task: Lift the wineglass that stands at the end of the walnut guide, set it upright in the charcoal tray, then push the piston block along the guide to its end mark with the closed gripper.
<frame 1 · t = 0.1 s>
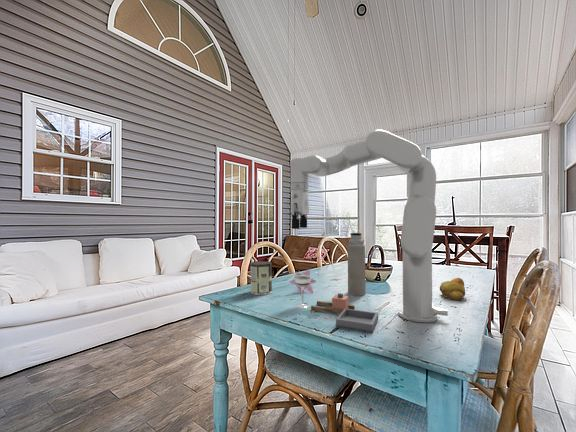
hand: (299, 228, 119), 31 cm above the table, tool pointing down, fingers open, 9 cm apart
lily: (303, 292, 135), on the table
wineglass: (302, 306, 114), on the table
tray: (357, 323, 94), on the table
bread roll: (452, 297, 123), on the table
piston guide: (332, 309, 108), on the table
piston block: (340, 302, 107), point 3 cm above the table, slide at 0.0 cm
coffee can: (261, 292, 135), on the table
thermos bottle: (356, 293, 131), on the table
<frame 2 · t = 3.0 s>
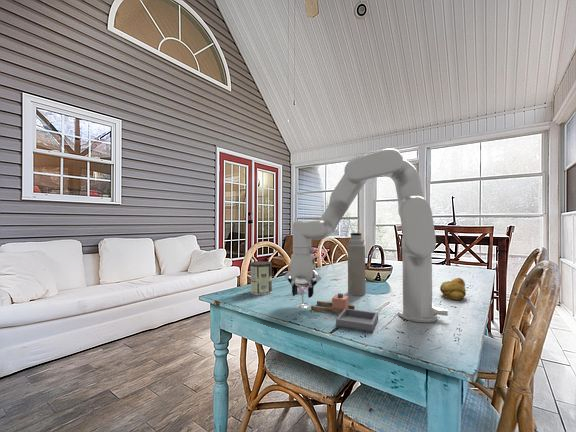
hand: (302, 295, 114), 4 cm above the table, tool pointing down, fingers closed on wineglass, 6 cm apart
wineglass: (302, 306, 114), on the table, touching gripper
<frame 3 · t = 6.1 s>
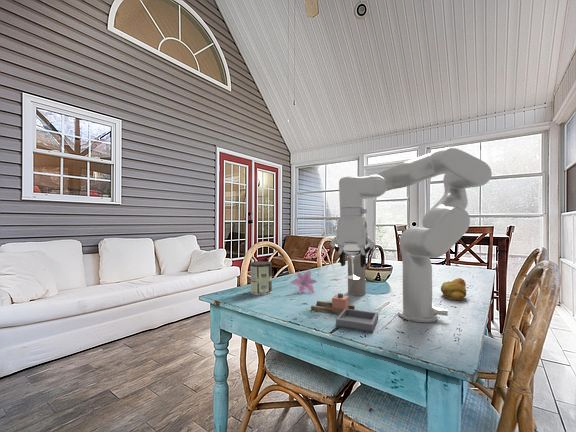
hand: (352, 265, 96), 19 cm above the table, tool pointing down, fingers closed on wineglass, 6 cm apart
wineglass: (353, 278, 96), point 15 cm above the table, touching gripper
when the fingers open (6 cm above the table, at t = 9.5 s): wineglass moves 1 cm, resting on tray.
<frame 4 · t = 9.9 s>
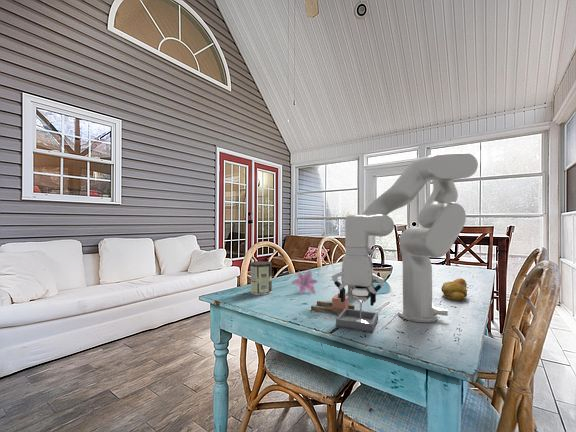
hand: (357, 302, 94), 7 cm above the table, tool pointing down, fingers open, 9 cm apart
wineglass: (360, 322, 94), resting on tray
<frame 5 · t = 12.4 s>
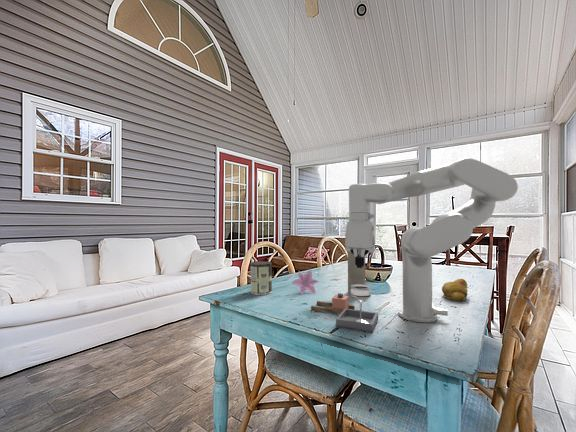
hand: (359, 267, 104), 17 cm above the table, tool pointing down, fingers closed
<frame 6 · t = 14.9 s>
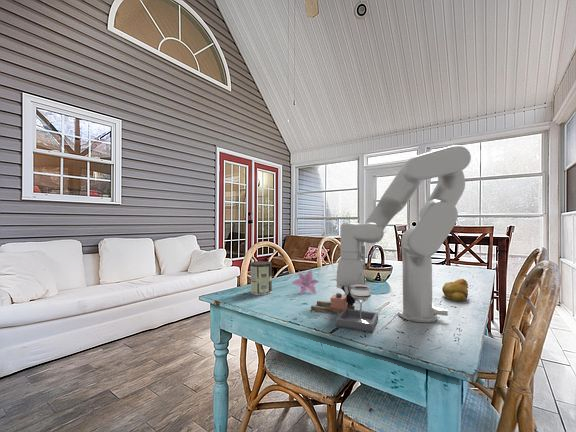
hand: (350, 304, 105), 3 cm above the table, tool pointing down, fingers closed
piston block: (338, 301, 107), point 3 cm above the table, slide at 0.6 cm, touching gripper
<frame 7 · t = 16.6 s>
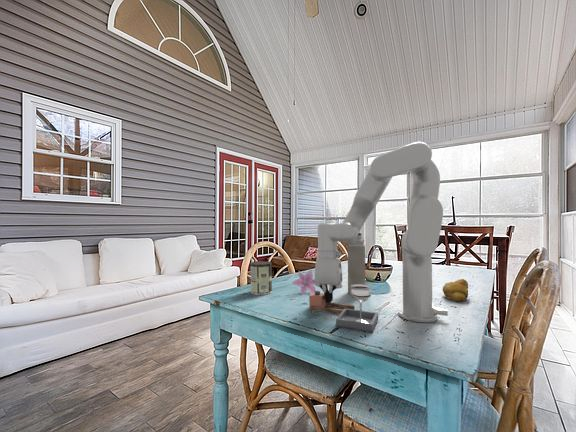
hand: (328, 302, 109), 3 cm above the table, tool pointing down, fingers closed
piston block: (317, 299, 111), point 3 cm above the table, slide at 9.2 cm, touching gripper
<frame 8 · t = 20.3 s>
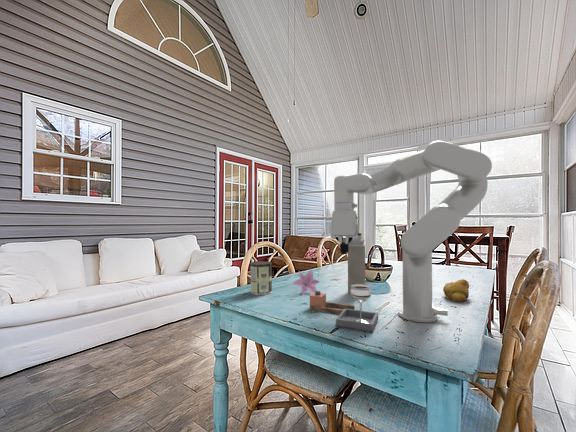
hand: (344, 253, 111), 21 cm above the table, tool pointing down, fingers closed
piston block: (317, 299, 111), point 3 cm above the table, slide at 9.0 cm
at the end: wineglass 1.1 cm off-centre on the tray, point 0.4 cm above the tray's base; wineglass tilted 0°; piston block slide at 9.0 cm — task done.
